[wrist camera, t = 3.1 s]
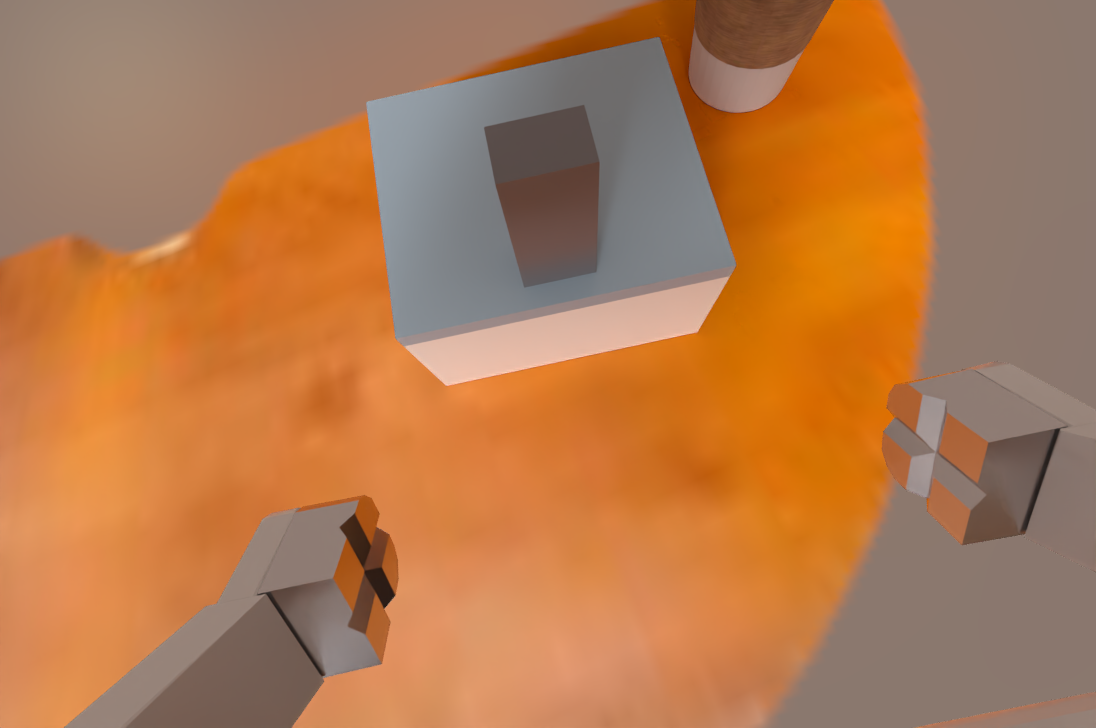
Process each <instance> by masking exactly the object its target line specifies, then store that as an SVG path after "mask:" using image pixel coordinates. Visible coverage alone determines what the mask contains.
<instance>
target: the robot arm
mask: <svg viewBox="0 0 1096 728" xmlns="http://www.w3.org/2000/svg"><path fill="white" fill-rule="evenodd" d="M887 409H888V410H889V411H890V412H891V414H892V415H893V416H894V417H895V418H894V419H893V420H892V422H891V423H890V424H889V425H888V426H887V428H886V429H885V430H884V431H883V441H882V451H883V455H884V458H885V462H886V465H887V467H888V469H889V470H890V472H891V474H892V475H893V477H894V478H895V479H896V480H897V481H898V482H899V483H900V485H901V486H902V487H903V488H904V489H905V490H907V491H910V492H912V493H915V494H917V495H919V496H922V497H925V498H927V512H928V513H929V514H930V515H932V516H933V517H934V518H935V519H936V520H937V521H938V522H939V523H940V524H941V525H942V526H943V527H944V528H945V529H946V530H947V531H948V532H949V533H950V534H951V535H952V536H953V537H954V538H955V539H956V540H957V541H958V542H959V543H960V544H961V545H967V544H973V543H978V542H984V541H990V540H995V539H1001V538H1007V537H1012V536H1018V535H1024V534H1025V536H1024V538H1026V539H1028V540H1030V541H1032V542H1034V543H1036V544H1039V545H1040V546H1042V547H1045V548H1047V549H1049V550H1051V551H1053V552H1055V553H1057V554H1059V555H1061V556H1063V557H1065V558H1067V559H1069V560H1071V561H1073V562H1075V563H1077V564H1080V565H1081V566H1083V567H1086V568H1088V569H1090V570H1092V571H1094V572H1096V410H1095V409H1093V408H1091V407H1089V406H1088V405H1086V404H1084V403H1082V402H1080V401H1078V400H1077V399H1075V398H1073V397H1071V396H1069V395H1067V394H1065V393H1063V392H1062V391H1060V390H1058V389H1056V388H1054V387H1052V386H1051V385H1049V384H1047V383H1045V382H1043V381H1041V380H1040V379H1038V378H1036V377H1034V376H1032V375H1030V374H1028V373H1027V372H1025V371H1023V370H1021V369H1019V368H1017V367H1015V366H1014V365H1012V364H1009V363H1004V362H998V361H996V362H991V363H987V364H983V365H978V366H974V367H970V368H966V369H962V370H961V371H957V372H952V373H947V374H943V375H938V376H933V377H929V378H924V379H919V380H915V381H910V382H905V383H901V384H896V385H894V387H893V388H892V390H891V391H890V393H889V396H888V402H887ZM378 518H379V512H378V510H377V508H376V506H375V504H374V502H373V500H372V498H370V497H367V496H365V495H363V496H358V497H352V498H347V499H342V500H336V501H331V502H325V503H320V504H315V505H309V506H304V507H302V508H295V509H290V510H285V511H280V512H275V513H271V514H269V515H268V516H266V517H265V518H263V519H262V521H261V523H260V525H259V526H258V528H257V530H256V532H255V534H254V536H253V538H252V539H251V541H250V543H249V545H248V547H247V549H246V551H245V552H244V554H243V556H242V558H241V560H240V562H239V563H238V565H237V567H236V569H235V571H234V573H233V575H232V576H231V578H230V580H229V582H228V584H227V586H226V587H225V589H224V591H223V593H222V595H221V597H220V599H219V600H218V602H217V604H214V605H209V606H205V607H204V608H203V609H202V610H201V611H200V612H198V613H197V614H196V615H195V616H194V617H193V618H191V619H190V620H189V621H188V622H187V623H186V624H184V625H183V626H182V627H181V628H180V629H179V630H177V631H176V632H175V633H174V634H173V635H172V636H170V637H169V638H168V639H167V640H166V641H165V642H163V643H162V644H161V645H160V646H159V647H158V648H156V649H155V650H154V651H153V652H152V653H151V654H149V655H148V656H147V657H146V658H145V659H144V660H142V661H141V662H140V663H139V664H138V665H136V666H135V667H134V668H133V669H132V670H131V671H129V672H128V673H127V674H126V675H125V676H124V677H122V678H121V679H120V680H119V681H118V682H117V683H115V684H114V685H113V686H112V687H111V688H110V689H108V690H107V691H106V692H105V693H104V694H103V695H101V696H100V697H99V698H98V699H97V700H96V701H94V702H93V703H92V704H91V705H90V706H89V707H87V708H86V709H85V710H84V711H83V712H82V713H80V714H79V715H78V716H77V717H76V718H75V719H73V720H72V721H71V722H70V723H69V724H68V725H66V726H65V727H64V728H292V726H293V725H294V723H295V722H296V720H297V719H298V718H299V716H300V715H301V713H302V712H303V711H304V709H305V708H306V706H307V705H308V703H309V702H310V701H311V699H312V698H313V696H314V695H315V694H316V692H317V691H318V689H319V688H320V687H321V685H322V684H323V682H324V679H323V678H325V677H329V676H333V675H337V674H342V673H346V672H350V671H354V670H359V669H363V668H367V667H371V666H376V665H380V664H382V661H383V656H384V651H385V646H386V641H387V636H388V631H389V626H390V620H389V618H388V616H387V614H386V612H385V610H384V609H385V607H386V606H387V605H388V604H389V603H390V601H391V600H392V599H393V598H394V597H395V595H396V590H397V584H398V559H397V555H396V551H395V547H394V544H393V542H392V540H391V537H390V535H389V534H388V533H386V532H384V531H383V530H381V529H379V528H377V527H376V525H377V521H378ZM915 728H1096V692H1091V693H1086V694H1080V695H1076V696H1070V697H1066V698H1060V699H1055V700H1051V701H1045V702H1041V703H1035V704H1030V705H1025V706H1020V707H1015V708H1010V709H1005V710H1000V711H995V712H990V713H985V714H980V715H976V716H971V717H965V718H960V719H955V720H950V721H945V722H941V723H936V724H930V725H925V726H920V727H915Z"/></svg>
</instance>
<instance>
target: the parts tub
mask: <svg viewBox="0 0 1096 728" xmlns="http://www.w3.org/2000/svg"><path fill="white" fill-rule="evenodd" d="M729 277H730V276H728V277H723V278H719V279H714V280H710V281H705V282H700V283H696V284H691V285H686V286H682V287H677V288H672V289H668V290H663V291H659V292H654V293H649V294H645V295H640V296H635V297H631V298H626V299H622V300H617V301H612V302H608V303H603V304H598V305H594V306H589V307H584V308H580V309H575V310H571V311H566V312H561V313H557V314H552V315H547V316H543V317H538V318H533V319H529V320H524V321H520V322H515V323H510V324H506V325H501V326H496V327H492V328H487V329H483V330H478V331H473V332H469V333H464V334H459V335H455V336H450V337H445V338H441V339H436V340H432V341H427V342H422V343H418V344H413V345H408V346H404V347H405V348H406V349H407V350H408V351H409V352H410V353H411V354H413V355H414V356H415V357H416V358H417V359H418V360H419V361H420V362H421V363H422V364H423V365H424V366H426V367H427V368H428V369H429V370H430V371H431V372H432V373H433V374H434V375H435V376H436V377H437V378H438V379H440V380H441V381H442V382H443V383H444V384H445V385H446V386H449V385H453V384H458V383H463V382H467V381H472V380H477V379H481V378H486V377H490V376H495V375H500V374H504V373H509V372H514V371H518V370H523V369H528V368H532V367H537V366H542V365H546V364H551V363H556V362H560V361H565V360H570V359H574V358H579V357H584V356H588V355H593V354H598V353H602V352H607V351H612V350H616V349H621V348H626V347H630V346H635V345H640V344H644V343H649V342H654V341H658V340H663V339H668V338H672V337H677V336H682V335H686V334H691V333H696V332H698V330H699V328H700V327H701V325H702V323H703V322H704V320H705V318H706V316H707V315H708V313H709V311H710V310H711V308H712V306H713V305H714V303H715V301H716V299H717V298H718V296H719V294H720V293H721V291H722V289H723V287H724V286H725V284H726V282H727V281H728V279H729Z"/></svg>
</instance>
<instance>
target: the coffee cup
mask: <svg viewBox="0 0 1096 728" xmlns="http://www.w3.org/2000/svg"><path fill="white" fill-rule="evenodd" d="M833 1H834V0H697V1H696V10H695V26H694V33H693V41H692V48H691V55H690V63H689V80H690V84H691V86H692V88H693V90H694V92H695V93H696V94H697V96H698V97H699V98H700V99H701V100H702V101H704V102H705V103H706V104H708V105H710V106H712V107H713V108H716V109H719V110H722V111H726V112H733V113H743V112H749V111H753V110H756V109H759V108H761V107H763V106H765V105H767V104H768V103H770V102H771V101H772V100H773V99H774V98H776V96H777V95H778V94H779V92H780V91H781V90H782V88H783V86H784V84H785V83H786V81H787V79H788V77H789V76H790V74H791V72H792V70H793V68H794V67H795V65H796V63H797V61H798V59H799V58H800V56H801V54H802V52H803V50H804V49H805V47H806V46H807V44H808V43H809V41H810V40H811V38H812V36H813V35H814V33H815V31H816V29H817V28H818V26H819V24H820V23H821V21H822V19H823V18H824V16H825V14H826V13H827V11H828V9H829V8H830V6H831V4H832V2H833Z"/></svg>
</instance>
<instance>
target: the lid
mask: <svg viewBox="0 0 1096 728" xmlns="http://www.w3.org/2000/svg"><path fill="white" fill-rule="evenodd" d="M366 104H367V112H368V120H369V128H370V136H371V144H372V153H373V161H374V169H375V177H376V185H377V193H378V201H379V209H380V217H381V225H382V233H383V241H384V249H385V257H386V265H387V273H388V281H389V289H390V297H391V305H392V313H393V322H394V330H395V338H396V340H397V341H399V342H400V343H401V344H402V345H403V346H408V345H413V344H418V343H422V342H427V341H432V340H436V339H441V338H445V337H450V336H455V335H459V334H464V333H469V332H473V331H478V330H483V329H487V328H492V327H496V326H501V325H506V324H510V323H515V322H520V321H524V320H529V319H533V318H538V317H543V316H547V315H552V314H557V313H561V312H566V311H571V310H575V309H580V308H584V307H589V306H594V305H598V304H603V303H608V302H612V301H617V300H622V299H626V298H631V297H635V296H640V295H645V294H649V293H654V292H659V291H663V290H668V289H672V288H677V287H682V286H686V285H691V284H696V283H700V282H705V281H710V280H714V279H719V278H723V277H728V276H730V275H731V274H732V272H733V270H734V269H735V267H736V262H735V259H734V256H733V253H732V250H731V247H730V244H729V241H728V238H727V235H726V233H725V230H724V227H723V224H722V221H721V218H720V215H719V212H718V209H717V206H716V203H715V200H714V197H713V194H712V191H711V188H710V185H709V182H708V179H707V176H706V173H705V170H704V167H703V164H702V161H701V158H700V156H699V153H698V150H697V147H696V144H695V141H694V138H693V135H692V132H691V129H690V126H689V123H688V120H687V117H686V114H685V111H684V108H683V105H682V102H681V99H680V96H679V93H678V90H677V87H676V84H675V81H674V79H673V76H672V73H671V70H670V67H669V64H668V61H667V58H666V55H665V52H664V49H663V46H662V43H661V40H660V37H656V38H651V39H647V40H642V41H638V42H633V43H629V44H625V45H620V46H616V47H611V48H607V49H602V50H598V51H593V52H589V53H584V54H580V55H575V56H571V57H566V58H562V59H557V60H553V61H548V62H544V63H539V64H535V65H530V66H526V67H521V68H517V69H512V70H508V71H503V72H499V73H494V74H490V75H485V76H481V77H476V78H472V79H467V80H463V81H458V82H454V83H449V84H445V85H440V86H436V87H431V88H427V89H422V90H418V91H414V92H409V93H405V94H400V95H396V96H391V97H387V98H382V99H378V100H373V101H369V102H366Z"/></svg>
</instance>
